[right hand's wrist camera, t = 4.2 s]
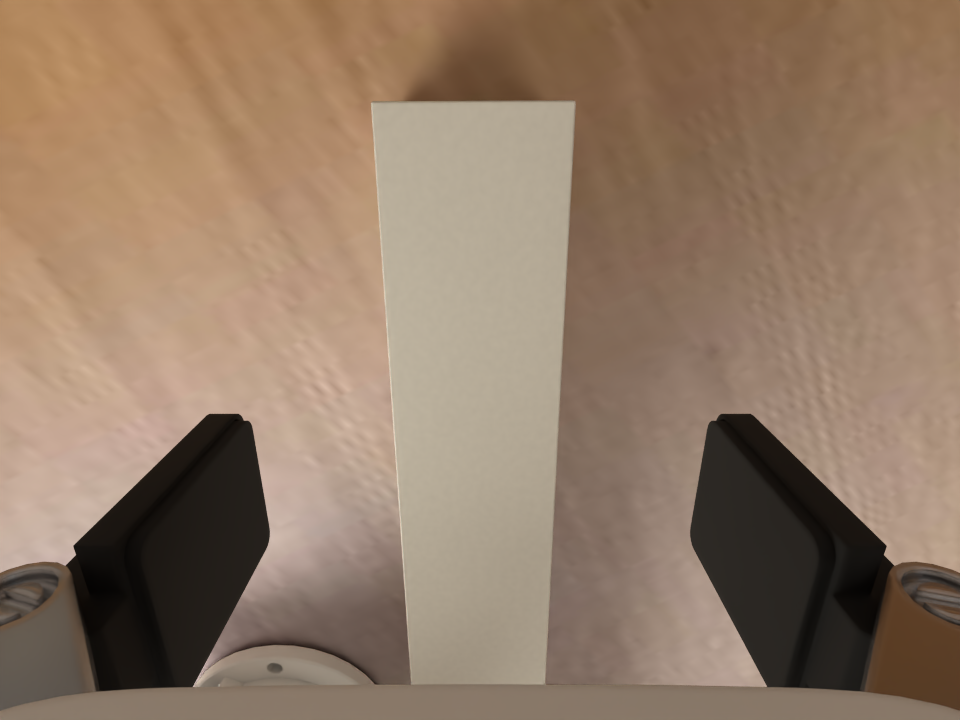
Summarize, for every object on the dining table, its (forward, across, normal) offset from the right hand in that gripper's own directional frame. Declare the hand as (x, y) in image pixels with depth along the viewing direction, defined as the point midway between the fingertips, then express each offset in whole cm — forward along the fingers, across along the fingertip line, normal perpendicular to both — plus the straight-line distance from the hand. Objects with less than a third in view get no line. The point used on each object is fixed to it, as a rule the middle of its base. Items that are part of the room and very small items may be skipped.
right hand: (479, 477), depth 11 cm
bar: (+15, 0, -29) cm, 33 cm away
